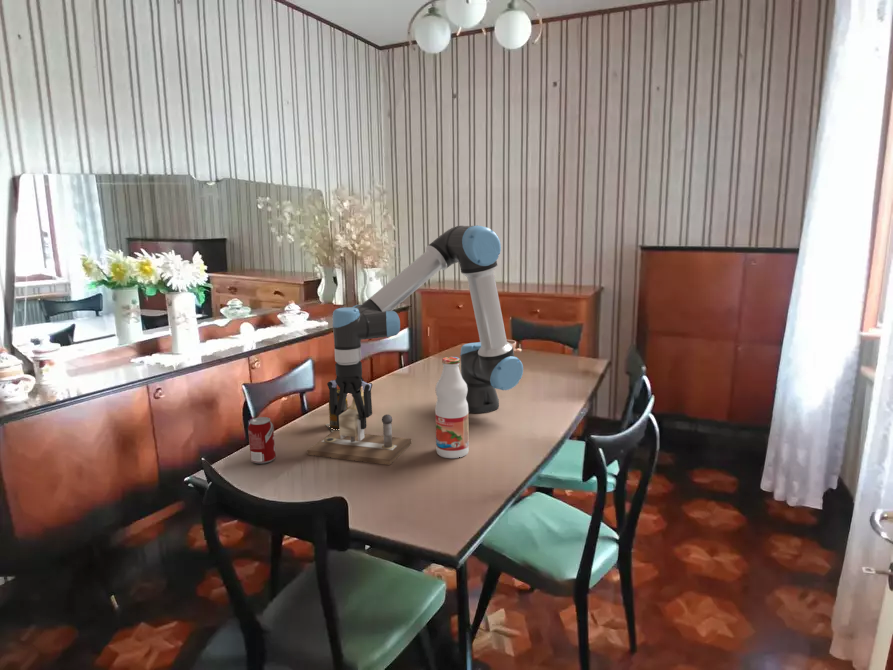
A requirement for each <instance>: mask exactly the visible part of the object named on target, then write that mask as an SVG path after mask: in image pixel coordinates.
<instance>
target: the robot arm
mask: <svg viewBox="0 0 893 670" xmlns="http://www.w3.org/2000/svg"><path fill="white" fill-rule="evenodd" d="M501 245H502V244H501V240H500V238H499V237H498V235H497V234H496V232H495V231H494V230H492V229H491V228H490V227H488V226H482V225H457V226H456V225H455V226H453V227H451V228H450V229H448V230H445V231H444V232H443V233H442V234H441V235H439V236H438V237H437V238H436V239H435V240H433V241H432V242H431V243H429V244H428V245H427V246H426V248H425V252H423V254H421V255H420V256H418V257H417V258H416V259H415V260H414V261H413V262H411V263H410V264H409V265H408V266H407V267H405V268H404V269H403V270H402V271H401V272H399V273H398V274H397V275H396V276H395V277H393V278H392V279H391V280H390V281H388V282H387V283H386V284H385V285H383V286H382V287H381V288H380V289H378V291H377V292H376V293H374V294H372V296H370V297H369V298H368V299H366V301H364V302H363V303H362V304H356V305H353V306H352V307H349V306H348V307H339V308H336V309H334V310H333V312H332V331H333V332H332V333H333V343H334V349H333V350H334V361H335V375H336V377H335V379H331V380H330V381H328V382H327V383H326V385H327V387H328V391H329V393H330V395H329V396H330V398H329V399H330V413H331V414H334V415H336V416H337V425H338V427H339V415H340V414H342V413H343V412H344V408H345V403H346V398H347V399H348V397H347V396H348V394H351V396H352V399H353V398H354V401H355V404H356V408H357V411H358V414H359V418H358V419H357V428H358V441H361V440H362V439H363V438H364V437H365V436H364V434H365V430H366V428H367V426H368V425H367V418H369V417H371V416H372V415H373V406H372V405H373V404H372V387H373V383H372V382H369V383H368V382H366V381H364V379H363V366H362V365H363V364H362V361H361V360H362V345H361V342H362V340H363V341H364V340H371V339H380V338H381V339H383V338H389V337H393V336H397V335H398V334H399V333H400V331H401V320H400V317H399V314H398V313H397V312H396V311H394V309H395V308H397V307H398V306H399V305H400V304H402V303H403V302H404V301H405V300H407V298H408V297H410V296H411V295H412V294H413V293H415V292H416V291H417V290H418V289H419V288H420V287H422V285H424V284H425V283H426V282H428V281H429V280H430V279H431V278H433V276H435V275H436V274H437V273H439V272H440V271H441V270H442V271H443V270H444V271H445V270H447V269H448V268H450V266H452V265H454V264H456V263H459V269H460V272H461V274H462V275H463V276H465V277H466V278H467V284H468V289H469V293H470V298H471V303H472V308H473V311H474V312H473V313H474V318H475V322H476V327H477V332H478V337H479V338H478V339H479V341H478V342H469V343H464V344H462V346H461V347H460V355H459V357H460V373H461V376H462V378H463V380H464V381H465V382H466V384H467V388H468V392H467V396H466V401H467V403H468V413H474V414H475V413H478V414H480V413H483V414H484V413H489V412H493V411H495V410H497V409H499V406H500V399H499V397H498V394H497V390H501V391H509V390H511V389H514V388H515V387H516V386H517V385H518V384H519V382H520V380H522V378H523V373H524V364H523V362H522V361H521V359H519V357H517V356H515V353H514V351H513V346H512V344H510V343H509V342H507V340H508V339H507V334H506V331H505V325H504V323H505V322H504V319H503V318H504V317H503V314H502V309H501V303H500V298H499V292H498V288H497V282H496V277H495V271H496V269H497V267H498V261H497V260H498V259H499V255H500V254H501V251H502V250H501V249H502V246H501ZM360 388H362V391H363V392H364V404H363V400H362V397H361V390H360ZM337 389H340V392H339V395H340V396H339V401H338V399H337ZM340 437H341V439H343V438H345V437H346V436H344V435H340Z"/></svg>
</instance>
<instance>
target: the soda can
mask: <svg viewBox="0 0 893 670" xmlns="http://www.w3.org/2000/svg"><path fill="white" fill-rule="evenodd" d="M247 433H248V442H249V444H248V445H249V454H250V455H249V456H250V462H252V463H253V464H254V463H255V464H258V465H265V464H270V463H271V462H273V461H274V460H275V459H276V458H277V457H276V455H277V454H276V446H275V445H276V443H275V429H274V424H273V423H272V421H271V418H270V417H266V416H260V417H259V416H258V417H254V418H252V419H250V420H249V425H248V427H247Z"/></svg>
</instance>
